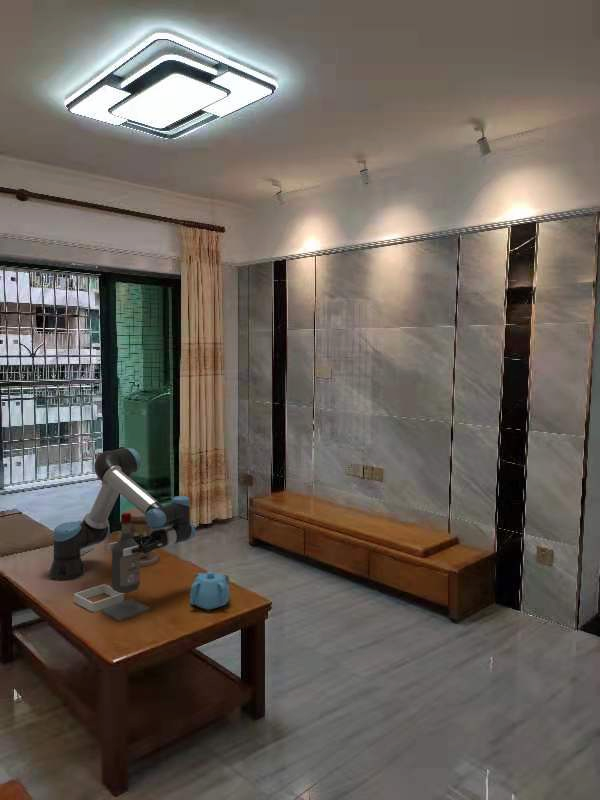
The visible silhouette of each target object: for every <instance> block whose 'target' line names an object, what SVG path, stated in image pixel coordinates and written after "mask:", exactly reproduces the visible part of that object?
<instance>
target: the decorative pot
mask: <svg viewBox="0 0 600 800" xmlns="http://www.w3.org/2000/svg"><path fill="white" fill-rule="evenodd" d="M229 582H230V577H229V575H228V574H227V573H221V574H220V573H217V572H214V571H207V572H206V573H202V572H199V573H196V575H195V578H194V581H193V583H192V584H191V586H190V594H189V597H190V599H189V603H190V604H191V605H195V606H196V607H198V608H201V609H204V610H205V609H211V610H213V609H217V608H221V607H223V606H225V605H226V604H228V602H229V600H230V598H231V594H230V593H231V592H230V587H229Z"/></svg>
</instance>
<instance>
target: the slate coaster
mask: <svg viewBox="0 0 600 800" xmlns="http://www.w3.org/2000/svg"><path fill="white" fill-rule="evenodd" d="M150 610H151V607H150V606H147V605H145V604H142V603H140V602H139V601H137V600H134V599H132V598H129V599H126V600H124V601H123V602H120V603H117V604H114V605H111V606H109V607H106V608H103V609H100V610H99V611H100V613H102V614H104V615H106V616H108V617H109V618H112V619H114V620H115V621H117V622H119V623H120V622H122V621H124V620H128V619H130V618H133V617H136V616H138V615H141V614H143V613H146V612H148V611H150Z"/></svg>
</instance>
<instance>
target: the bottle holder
mask: <svg viewBox="0 0 600 800" xmlns="http://www.w3.org/2000/svg"><path fill="white" fill-rule="evenodd" d="M102 594H106V595H107V596H109V597H105V598H102V599H101V600H96V601H94V602H93V601H91V600H90V598H92V597H96V596H99V595H102ZM73 601H74V602H73V603H74V604H76V603H77V604H76V605H78V606H80V607H81V606H82V608H83V607H84V608H83V609H85V608H86V610H87V609H88V610H87V611H89V612H91V613H96V612H99V611H100V609H103V608H106V607H109V606H111V605H114V604H117V603H120V602H123V601H125V593H120V592H117V591H115V590H113V588H112V586H110V585H108V584H104V583H103V584H100V585H98V586H97V585H96V586H93V587H91V588H87V589H84V590H82V591H78V592H75V593H73ZM92 611H93V612H92Z"/></svg>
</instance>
